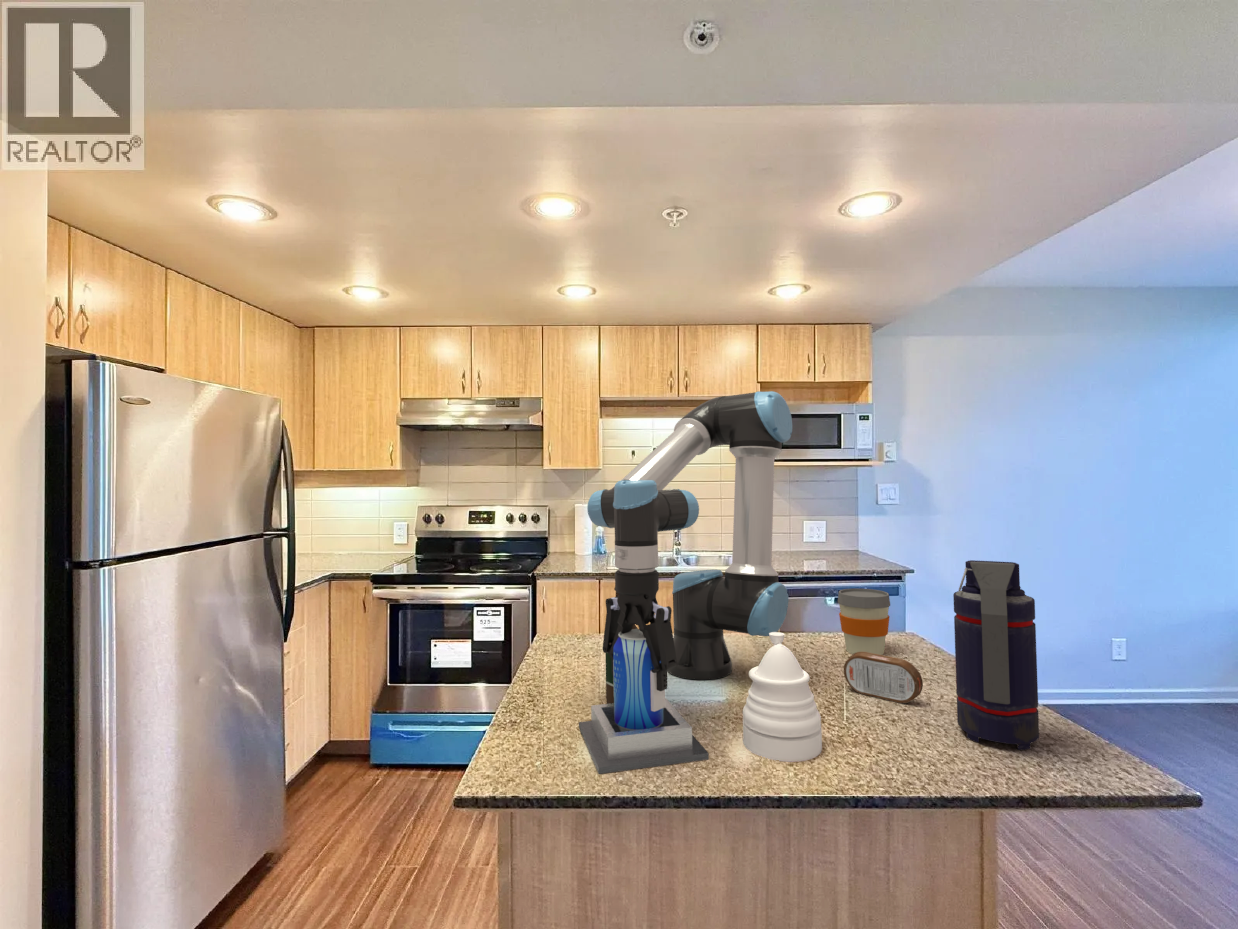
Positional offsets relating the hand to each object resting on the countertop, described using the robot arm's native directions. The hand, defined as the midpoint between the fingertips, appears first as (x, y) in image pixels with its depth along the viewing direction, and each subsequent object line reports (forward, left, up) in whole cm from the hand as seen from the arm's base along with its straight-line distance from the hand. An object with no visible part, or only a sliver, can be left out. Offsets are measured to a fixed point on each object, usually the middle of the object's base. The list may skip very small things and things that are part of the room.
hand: (638, 702), depth 103 cm
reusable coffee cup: (-70, -36, -7) cm, 79 cm away
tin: (-53, -7, -7) cm, 54 cm away
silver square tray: (0, 0, -7) cm, 7 cm away
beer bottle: (-2, -18, -7) cm, 19 cm away
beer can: (0, 0, -5) cm, 5 cm away
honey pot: (-23, +7, -7) cm, 25 cm away
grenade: (-59, +15, -7) cm, 61 cm away
